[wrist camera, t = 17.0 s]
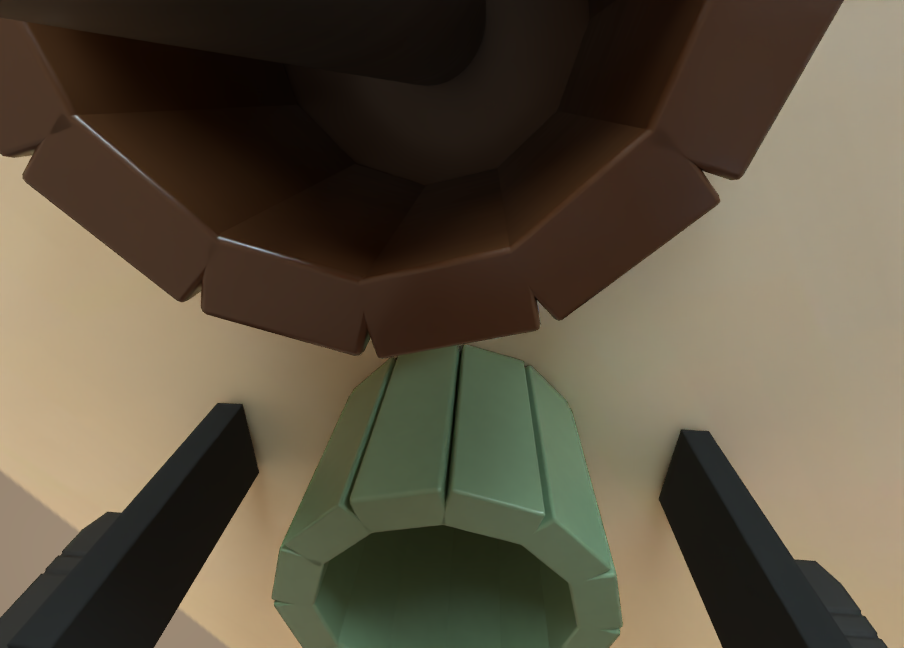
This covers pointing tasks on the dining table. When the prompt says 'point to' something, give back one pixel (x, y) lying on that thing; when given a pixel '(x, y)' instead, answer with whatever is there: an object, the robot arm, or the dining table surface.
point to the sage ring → (450, 517)
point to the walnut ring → (392, 198)
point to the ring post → (377, 66)
